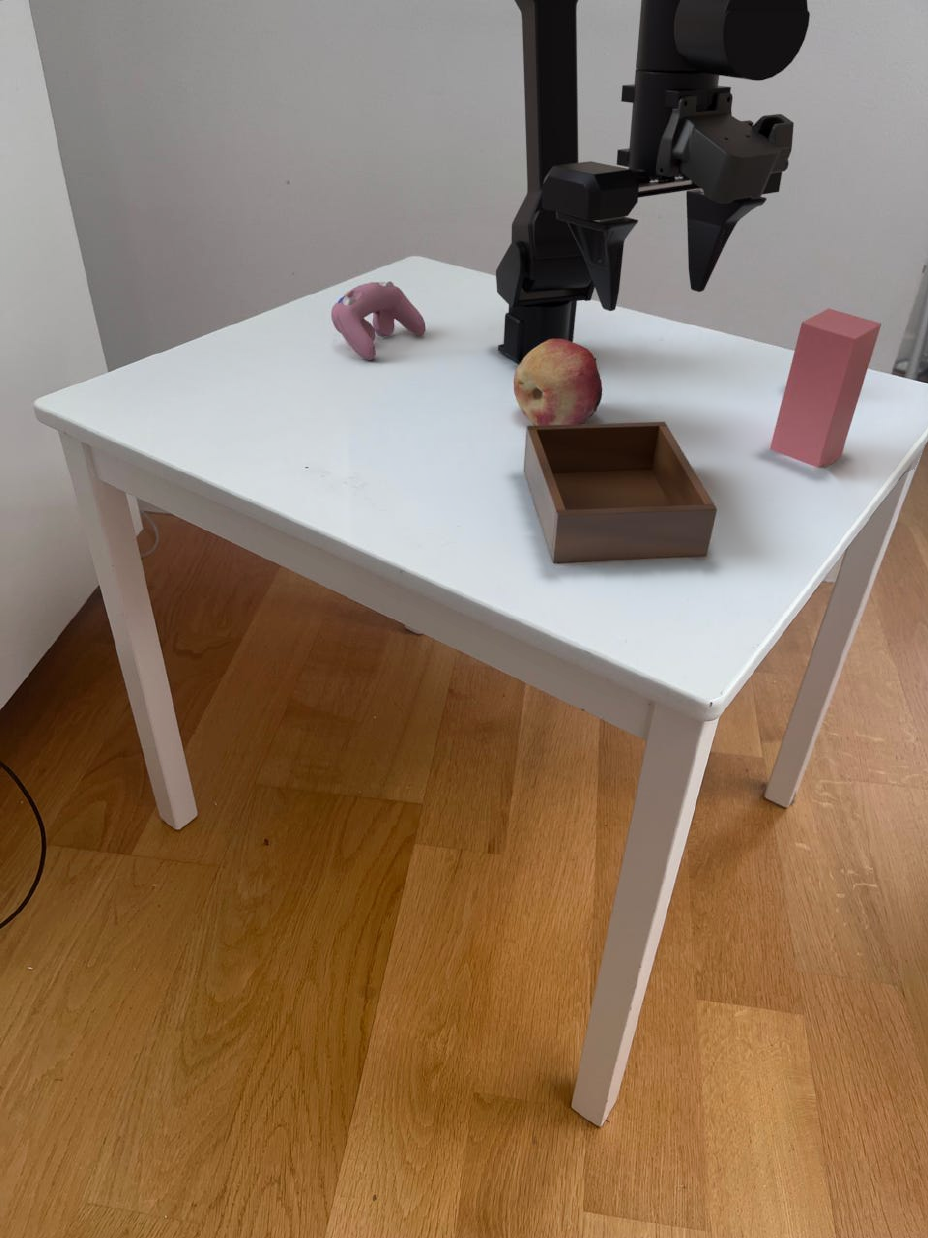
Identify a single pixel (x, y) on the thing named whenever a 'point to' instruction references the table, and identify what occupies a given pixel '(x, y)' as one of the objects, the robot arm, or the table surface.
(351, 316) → the video game controller
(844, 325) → the rose block
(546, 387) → the fruit
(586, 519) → the crate
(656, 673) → the table surface
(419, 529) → the table surface
